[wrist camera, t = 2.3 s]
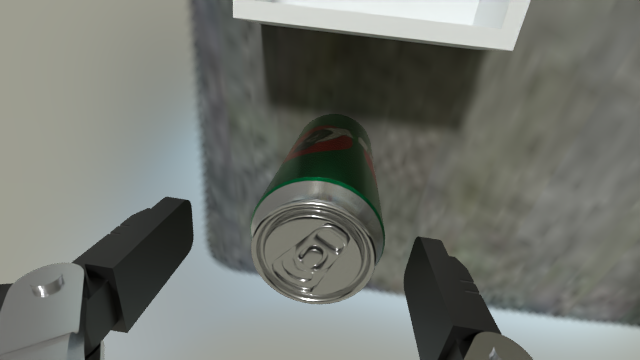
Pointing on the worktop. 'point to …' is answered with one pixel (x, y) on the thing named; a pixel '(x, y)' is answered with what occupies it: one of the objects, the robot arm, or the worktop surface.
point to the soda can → (321, 216)
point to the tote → (398, 19)
